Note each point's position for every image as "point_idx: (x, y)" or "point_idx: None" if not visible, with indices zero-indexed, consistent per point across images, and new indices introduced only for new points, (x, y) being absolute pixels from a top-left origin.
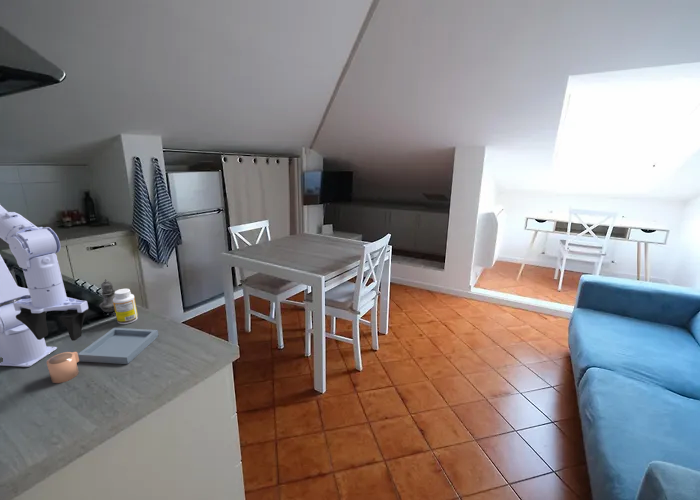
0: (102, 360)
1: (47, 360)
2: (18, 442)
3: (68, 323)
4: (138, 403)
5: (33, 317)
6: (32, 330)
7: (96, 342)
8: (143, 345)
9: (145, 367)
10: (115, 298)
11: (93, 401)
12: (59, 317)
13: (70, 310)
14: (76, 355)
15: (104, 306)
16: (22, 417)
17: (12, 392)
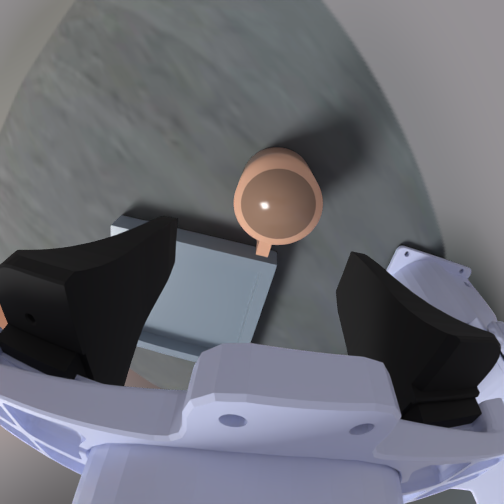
0: (195, 236)
1: (322, 199)
2: None
3: (79, 252)
4: (35, 63)
5: (399, 359)
6: (391, 281)
7: (249, 317)
8: None
9: (73, 195)
10: None
11: (128, 57)
12: (63, 277)
13: (36, 359)
14: (257, 243)
15: None
16: (291, 11)
17: (388, 131)
